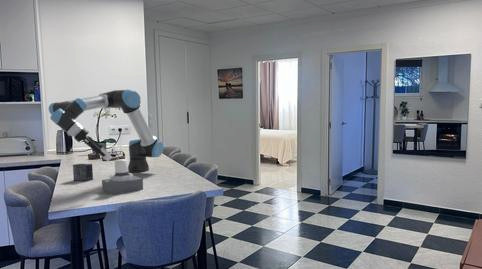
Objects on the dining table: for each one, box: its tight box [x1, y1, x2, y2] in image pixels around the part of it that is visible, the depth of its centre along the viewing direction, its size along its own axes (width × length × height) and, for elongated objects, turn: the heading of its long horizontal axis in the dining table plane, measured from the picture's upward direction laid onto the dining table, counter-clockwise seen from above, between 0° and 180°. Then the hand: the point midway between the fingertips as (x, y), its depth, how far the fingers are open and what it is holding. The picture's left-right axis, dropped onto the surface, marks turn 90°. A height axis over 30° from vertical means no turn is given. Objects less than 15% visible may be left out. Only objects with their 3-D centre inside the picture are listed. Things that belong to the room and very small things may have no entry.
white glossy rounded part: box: [114, 158, 130, 177], centre depth 195 cm, size 7×7×11 cm
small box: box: [72, 163, 94, 182], centre depth 225 cm, size 11×6×10 cm, turn 74°
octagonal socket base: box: [101, 172, 144, 196], centre depth 196 cm, size 18×14×8 cm
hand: (109, 158), depth 192 cm, fingers open, 13 cm apart
